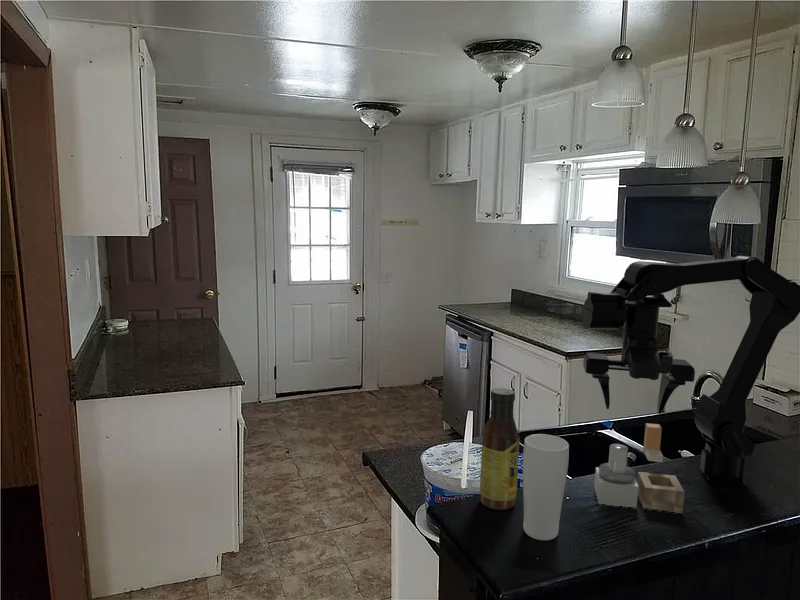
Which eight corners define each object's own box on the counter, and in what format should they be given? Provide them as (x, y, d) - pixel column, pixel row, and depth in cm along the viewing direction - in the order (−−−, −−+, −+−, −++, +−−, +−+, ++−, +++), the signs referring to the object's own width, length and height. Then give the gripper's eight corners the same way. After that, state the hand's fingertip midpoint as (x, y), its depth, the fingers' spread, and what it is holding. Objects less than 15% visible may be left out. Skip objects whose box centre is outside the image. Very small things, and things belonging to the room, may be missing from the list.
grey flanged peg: (629, 489, 105) (634, 442, 103) (635, 505, 99) (640, 456, 98) (595, 485, 106) (598, 439, 105) (599, 501, 100) (603, 452, 99)
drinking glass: (513, 521, 94) (518, 433, 92) (554, 521, 94) (560, 433, 92) (525, 545, 87) (531, 451, 85) (569, 544, 88) (576, 450, 85)
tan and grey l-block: (656, 452, 109) (659, 424, 108) (662, 462, 105) (665, 433, 104) (643, 450, 110) (645, 423, 109) (648, 460, 105) (650, 432, 104)
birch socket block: (673, 496, 104) (675, 475, 103) (682, 514, 98) (684, 491, 97) (636, 492, 105) (638, 471, 104) (643, 509, 99) (645, 487, 98)
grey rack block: (629, 491, 105) (631, 470, 104) (636, 508, 99) (638, 486, 98) (594, 487, 106) (595, 467, 106) (598, 504, 100) (600, 482, 100)
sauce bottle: (515, 514, 96) (522, 399, 93) (477, 509, 97) (483, 395, 94) (516, 495, 102) (522, 387, 99) (480, 491, 104) (485, 384, 101)
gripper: (592, 335, 101) (585, 420, 104) (708, 342, 97) (698, 431, 100) (585, 323, 112) (580, 401, 114) (690, 330, 108) (681, 410, 111)
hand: (633, 410), depth 110 cm, fingers open, 9 cm apart
